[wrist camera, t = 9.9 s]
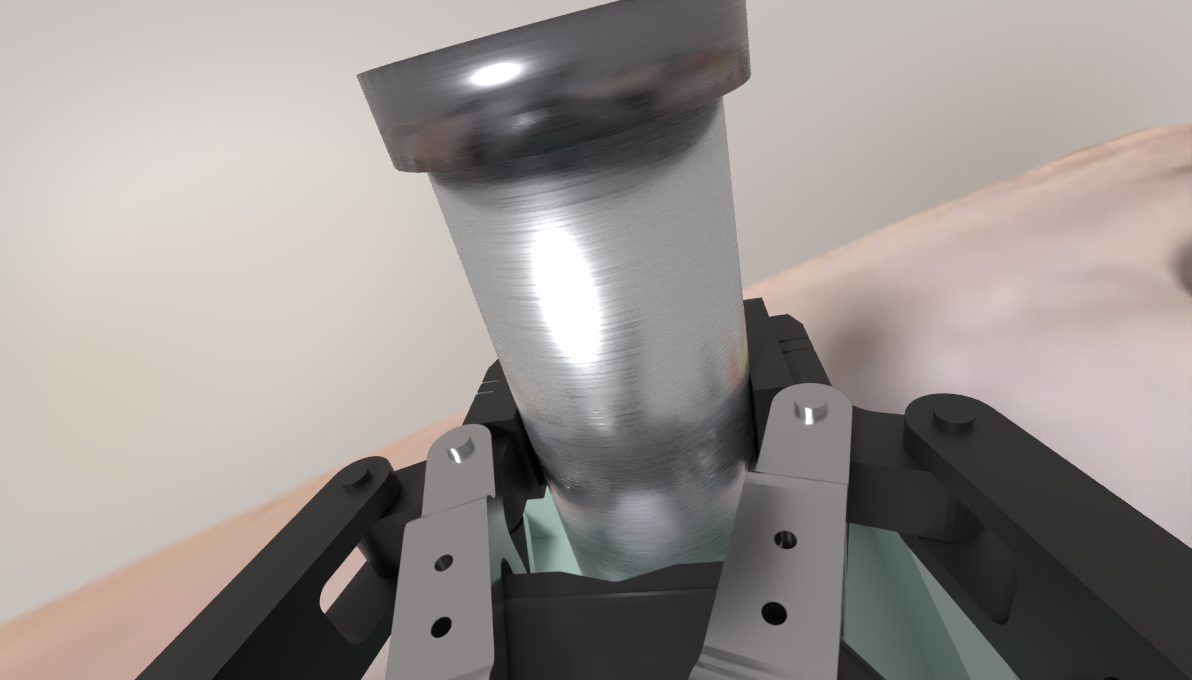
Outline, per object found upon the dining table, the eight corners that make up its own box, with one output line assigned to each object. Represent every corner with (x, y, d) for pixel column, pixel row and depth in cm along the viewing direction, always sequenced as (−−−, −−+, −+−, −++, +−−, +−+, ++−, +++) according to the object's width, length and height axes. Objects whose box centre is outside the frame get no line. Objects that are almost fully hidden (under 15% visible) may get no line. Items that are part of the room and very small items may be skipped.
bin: (385, 1020, 13) (306, 983, 11) (512, 536, 25) (485, 476, 23) (1151, 1111, 10) (1235, 1083, 8) (881, 511, 22) (887, 438, 20)
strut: (589, 740, 13) (268, 96, 6) (606, 554, 18) (438, 58, 10) (815, 743, 12) (782, -46, 5) (771, 543, 17) (720, -19, 9)
